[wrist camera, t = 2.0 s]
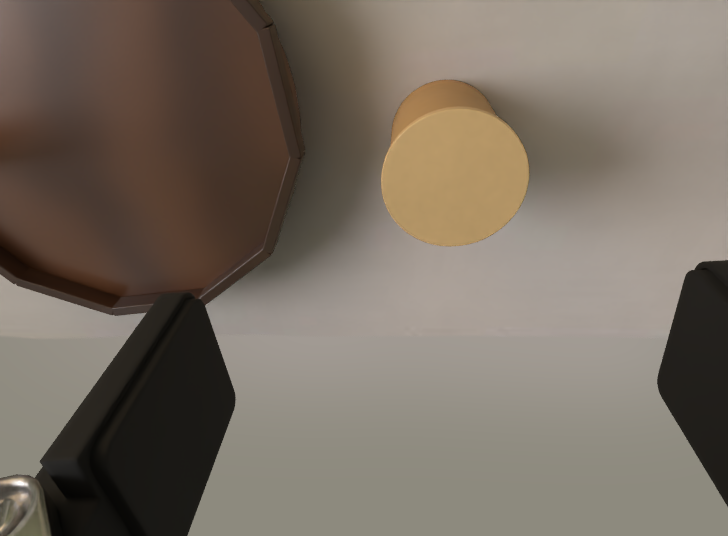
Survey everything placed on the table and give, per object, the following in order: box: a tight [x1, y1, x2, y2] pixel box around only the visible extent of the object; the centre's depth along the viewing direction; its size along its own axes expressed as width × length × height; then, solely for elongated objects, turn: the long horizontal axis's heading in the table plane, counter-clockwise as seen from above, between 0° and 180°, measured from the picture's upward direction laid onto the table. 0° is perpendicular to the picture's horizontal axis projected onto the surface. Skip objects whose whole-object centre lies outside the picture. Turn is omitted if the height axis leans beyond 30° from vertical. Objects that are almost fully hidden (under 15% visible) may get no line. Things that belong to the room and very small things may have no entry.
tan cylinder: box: [381, 80, 529, 246], centre depth 24 cm, size 6×6×7 cm
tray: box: [0, 0, 305, 316], centre depth 22 cm, size 22×22×8 cm
